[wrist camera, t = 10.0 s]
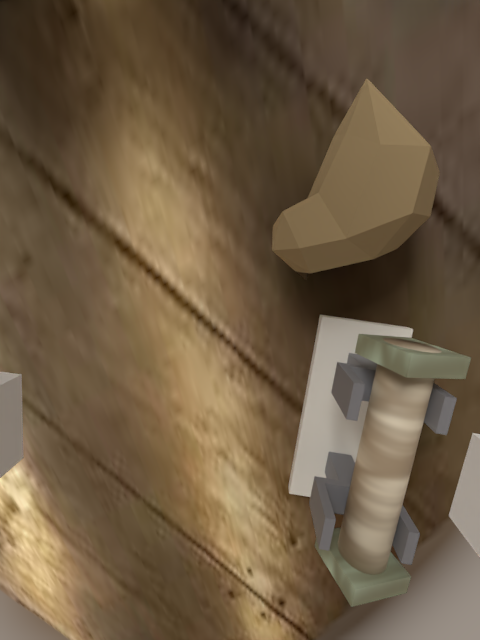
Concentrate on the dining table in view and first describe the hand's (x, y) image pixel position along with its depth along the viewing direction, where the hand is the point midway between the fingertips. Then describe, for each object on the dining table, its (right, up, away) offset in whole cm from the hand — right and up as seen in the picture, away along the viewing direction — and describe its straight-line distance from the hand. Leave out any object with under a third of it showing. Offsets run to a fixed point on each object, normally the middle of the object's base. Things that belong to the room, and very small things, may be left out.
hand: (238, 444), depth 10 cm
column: (+11, -7, +19) cm, 23 cm away
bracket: (+11, -6, +26) cm, 29 cm away
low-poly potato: (+9, +14, +23) cm, 28 cm away
